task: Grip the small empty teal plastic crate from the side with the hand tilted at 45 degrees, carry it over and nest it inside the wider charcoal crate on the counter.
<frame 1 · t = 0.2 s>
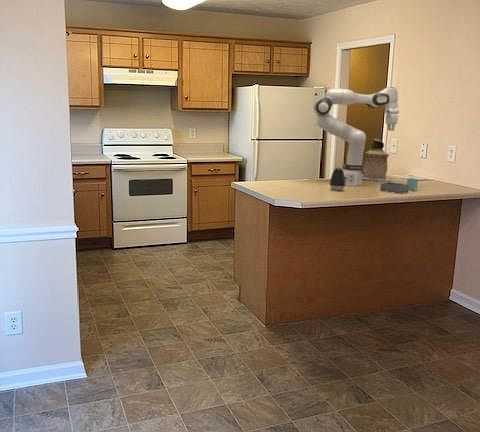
hand: (391, 130, 367), 39 cm above the worktop, tool pointing down, fingers open, 8 cm apart
charcoal crate: (394, 191, 350), on the worktop
teal crate: (411, 190, 359), on the worktop
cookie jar: (373, 179, 411), on the worktop
black tapered dome: (336, 190, 345), on the worktop
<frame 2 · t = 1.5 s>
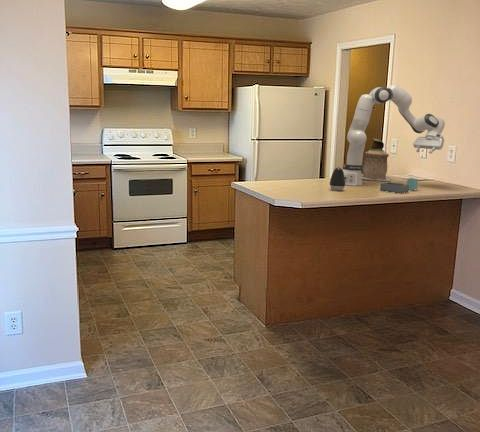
hand: (423, 152, 362), 26 cm above the worktop, tool tilted 45°, fingers open, 8 cm apart
nothing on the worktop moved.
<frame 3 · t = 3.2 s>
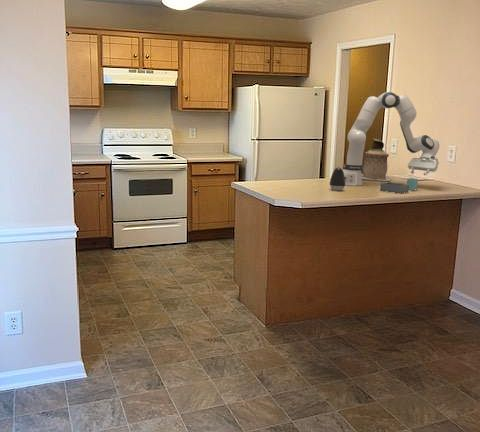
hand: (418, 173, 362), 11 cm above the worktop, tool tilted 45°, fingers open, 8 cm apart
nothing on the worktop moved.
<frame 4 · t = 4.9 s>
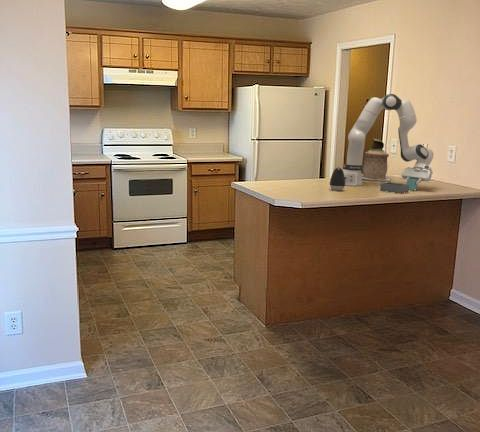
hand: (411, 183, 358), 5 cm above the worktop, tool tilted 45°, fingers closed on teal crate, 5 cm apart
teal crate: (411, 190, 359), on the worktop, touching gripper
everything else where it was.
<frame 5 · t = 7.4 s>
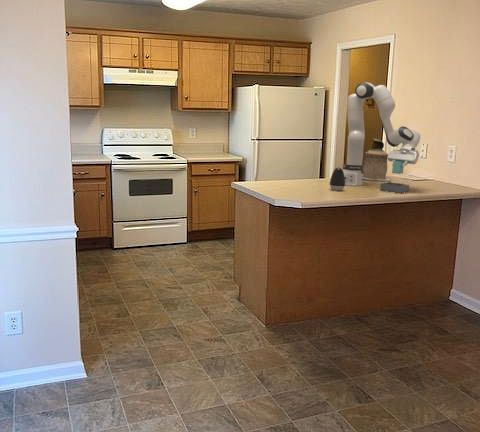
hand: (397, 166, 347), 17 cm above the worktop, tool tilted 45°, fingers closed on teal crate, 5 cm apart
teal crate: (397, 173, 348), point 12 cm above the worktop, touching gripper
everything else where it was.
when the fingers open (8 cm above the worktop, at t = 9.9 s): teal crate drops 2 cm, resting on charcoal crate.
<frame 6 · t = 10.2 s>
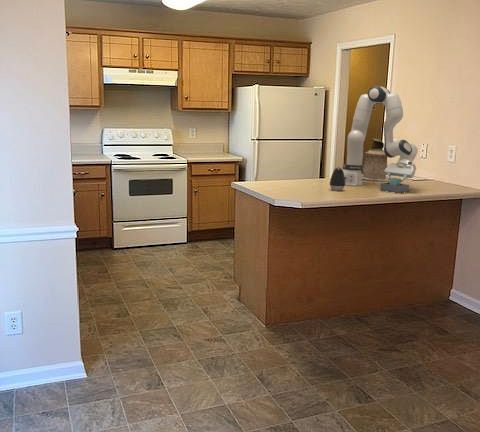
hand: (394, 180, 348), 8 cm above the worktop, tool tilted 45°, fingers open, 8 cm apart
charcoal crate: (394, 191, 350), on the worktop, touching teal crate
teal crate: (394, 190, 350), point 1 cm above the worktop, touching charcoal crate
everything else where it was.
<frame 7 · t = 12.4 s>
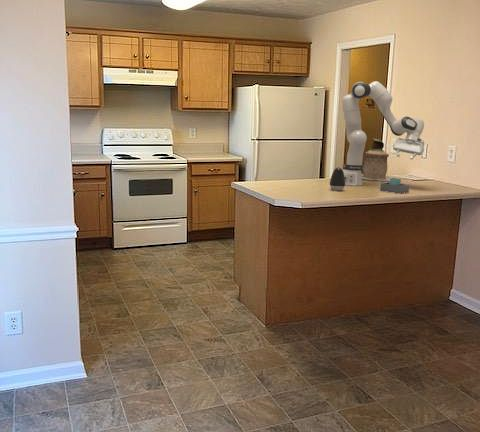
hand: (404, 157, 356), 22 cm above the worktop, tool tilted 35°, fingers open, 8 cm apart
nothing on the worktop moved.
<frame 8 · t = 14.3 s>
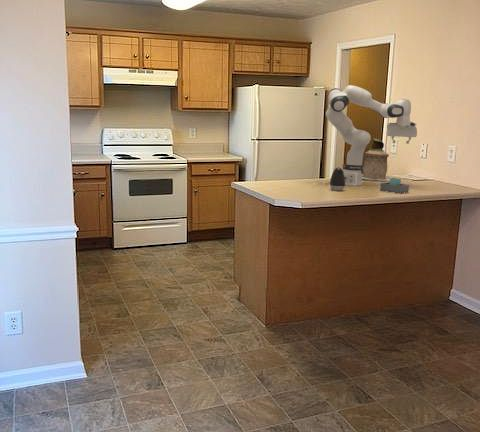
hand: (400, 143, 364), 31 cm above the worktop, tool pointing down, fingers open, 8 cm apart
nothing on the worktop moved.
at the end: teal crate 0.0 cm from the charcoal crate (horizontally); teal crate point 0.7 cm above the worktop; teal crate tilted 0° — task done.
